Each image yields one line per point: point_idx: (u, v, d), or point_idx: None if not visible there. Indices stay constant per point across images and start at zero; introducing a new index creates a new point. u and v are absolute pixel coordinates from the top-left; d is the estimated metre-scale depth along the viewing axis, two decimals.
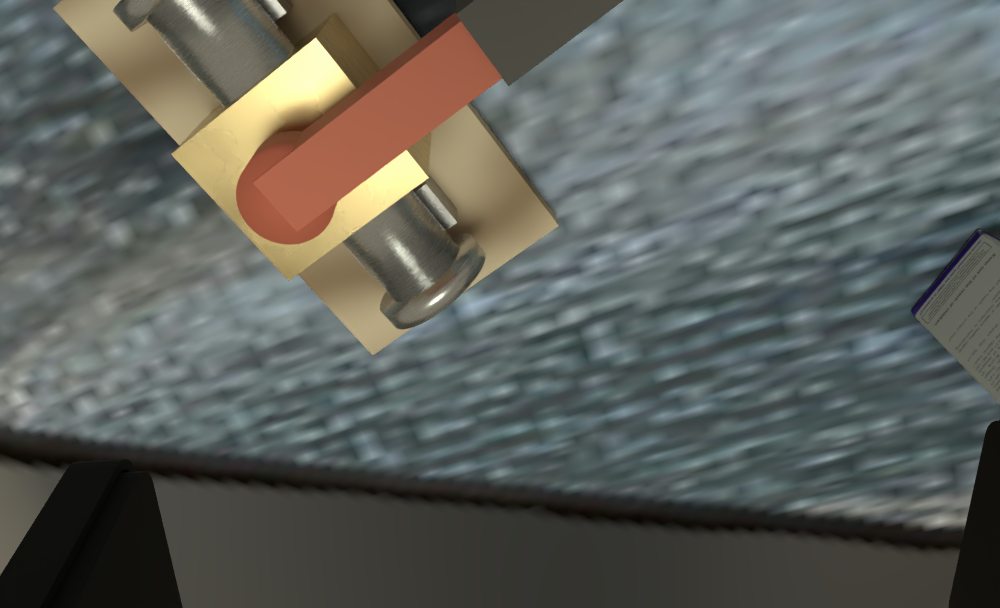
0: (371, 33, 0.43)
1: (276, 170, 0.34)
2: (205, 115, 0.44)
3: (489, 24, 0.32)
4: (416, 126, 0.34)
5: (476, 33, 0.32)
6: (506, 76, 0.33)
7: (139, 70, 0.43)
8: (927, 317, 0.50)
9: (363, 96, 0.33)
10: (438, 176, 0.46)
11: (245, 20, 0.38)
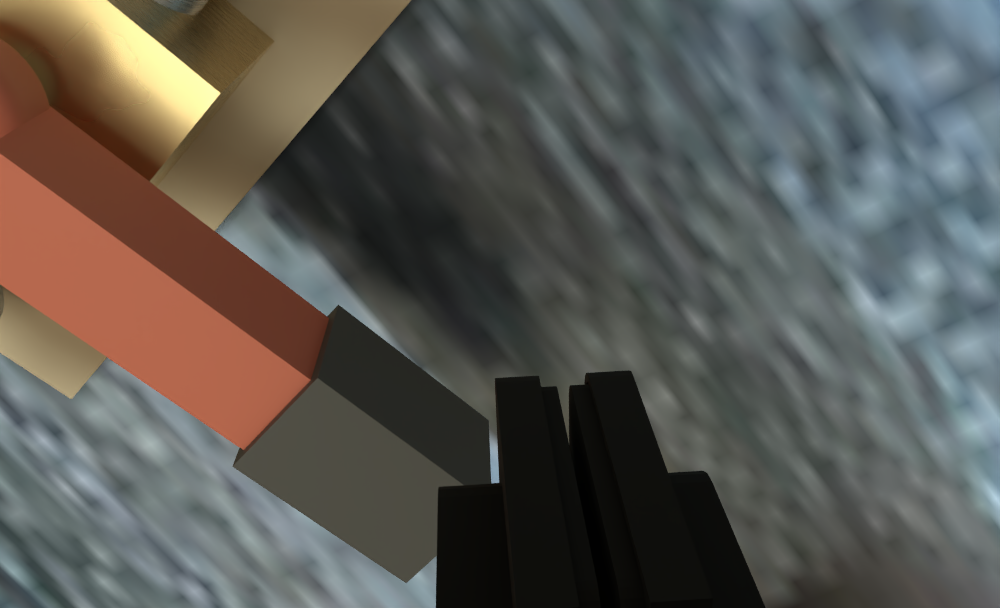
0: (259, 99, 0.29)
1: None
2: None
3: (316, 424, 0.20)
4: (119, 342, 0.20)
5: (298, 410, 0.20)
6: (246, 461, 0.21)
7: None
8: None
9: (140, 252, 0.19)
10: None
11: None
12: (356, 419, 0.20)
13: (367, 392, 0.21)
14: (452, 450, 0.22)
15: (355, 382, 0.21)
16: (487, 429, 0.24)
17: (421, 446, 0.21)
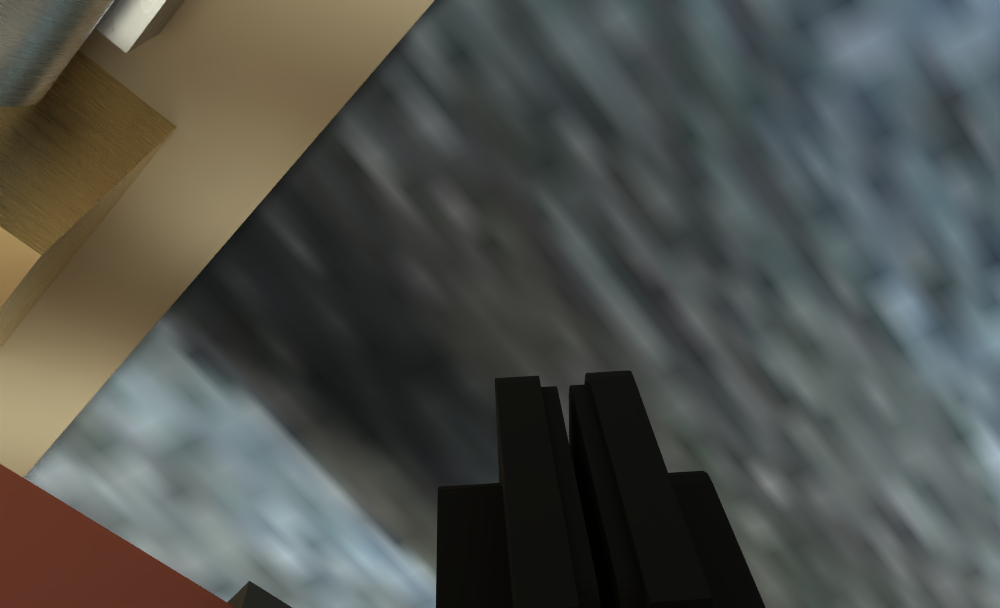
0: (158, 208, 0.20)
1: None
2: None
3: None
4: None
5: None
6: None
7: None
8: None
9: None
10: None
11: None
12: None
13: None
14: None
15: None
16: None
17: None
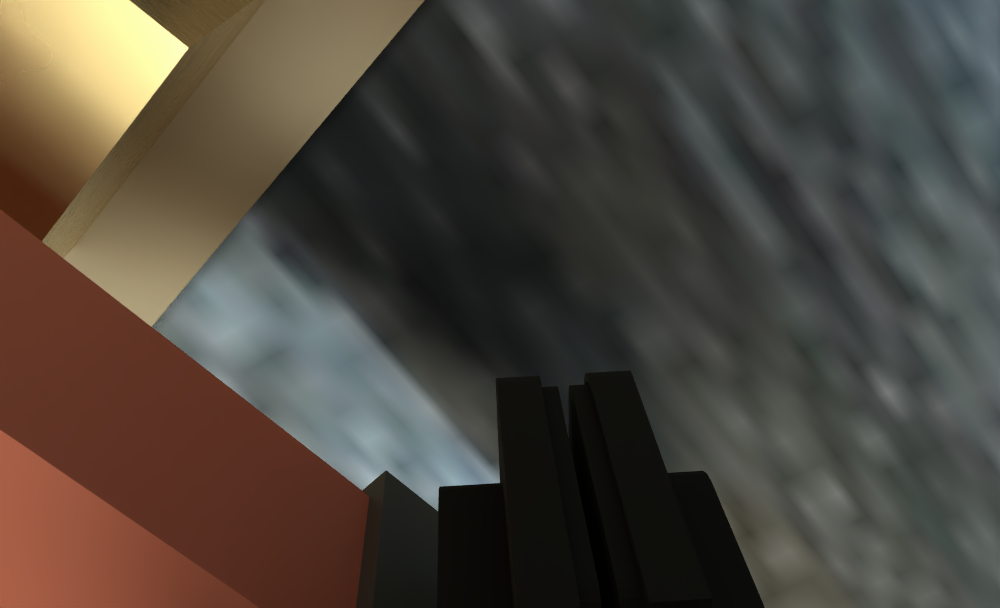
0: (256, 76, 0.18)
1: None
2: None
3: None
4: None
5: None
6: None
7: None
8: None
9: None
10: None
11: None
12: None
13: None
14: None
15: None
16: None
17: None
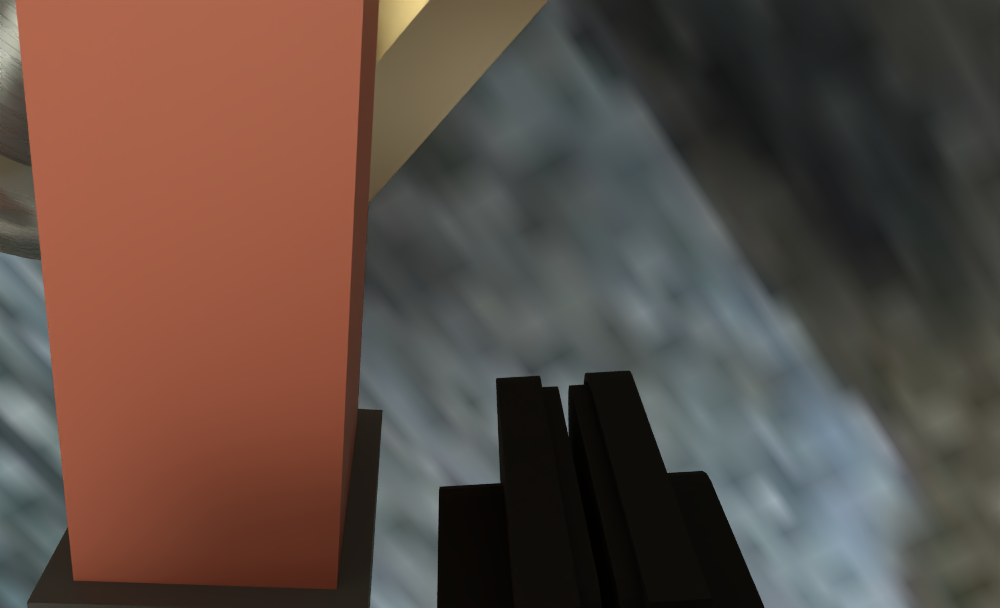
0: None
1: None
2: None
3: None
4: (100, 226, 0.07)
5: None
6: None
7: None
8: None
9: (356, 141, 0.07)
10: None
11: None
12: None
13: None
14: None
15: None
16: None
17: None
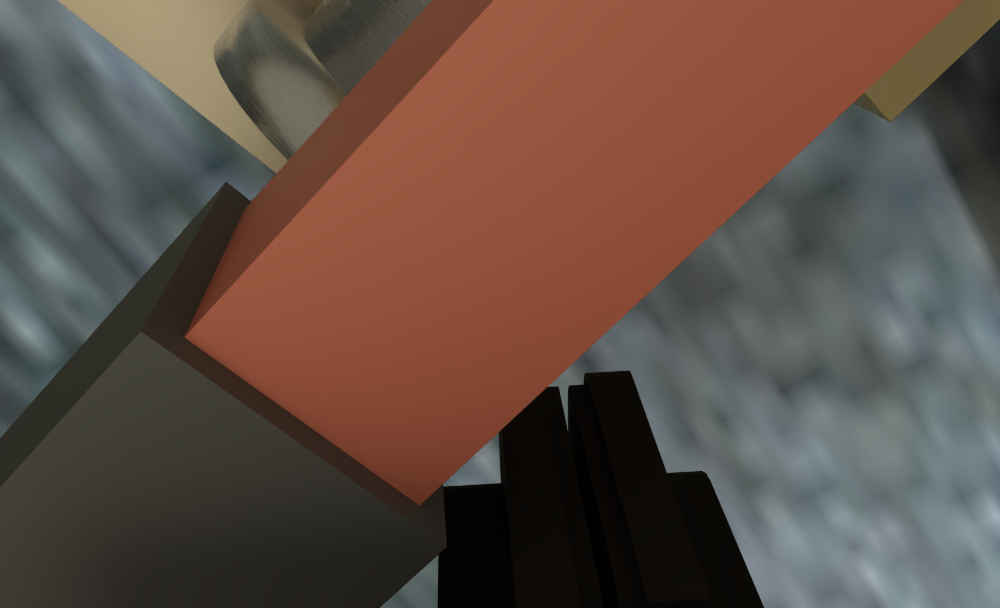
0: None
1: None
2: None
3: (303, 541, 0.08)
4: (553, 35, 0.06)
5: (349, 503, 0.08)
6: (165, 370, 0.07)
7: None
8: None
9: None
10: None
11: None
12: None
13: None
14: None
15: None
16: None
17: None
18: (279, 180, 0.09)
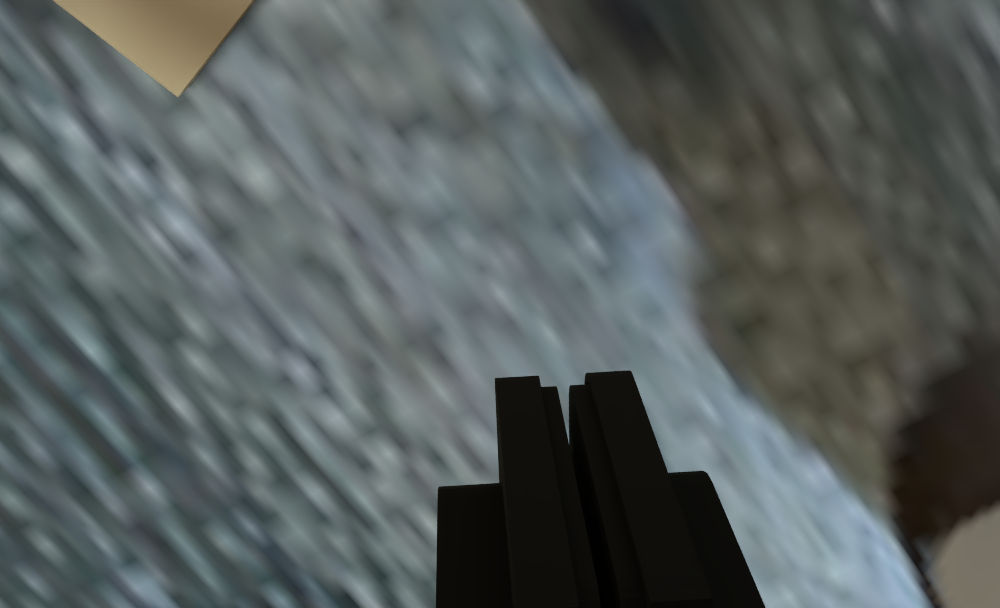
0: None
1: None
2: None
3: None
4: None
5: None
6: None
7: None
8: None
9: None
10: None
11: None
12: None
13: None
14: None
15: None
16: None
17: None
18: None
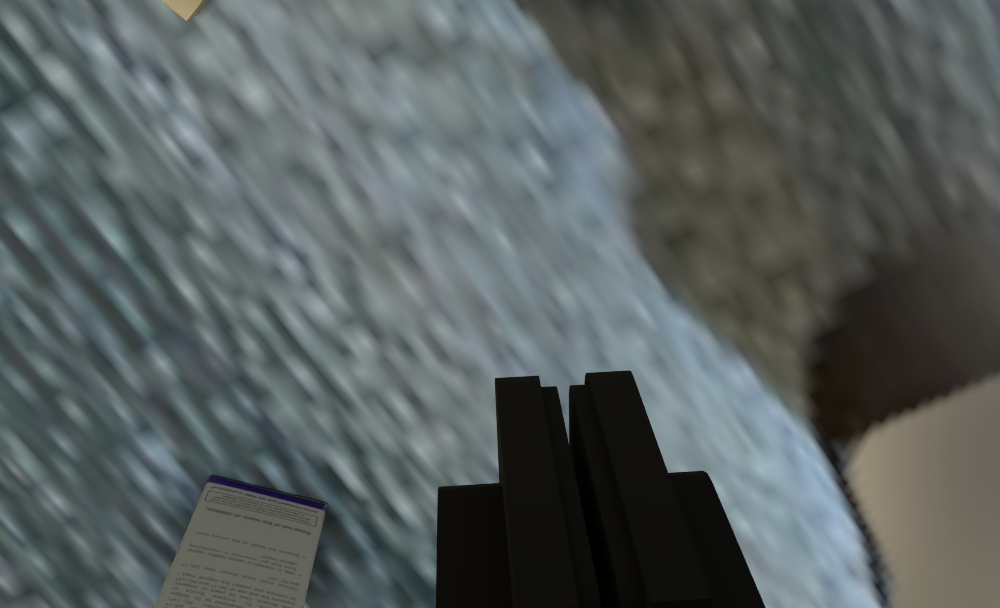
0: None
1: None
2: None
3: None
4: None
5: None
6: None
7: None
8: (212, 497, 0.42)
9: None
10: None
11: None
12: None
13: None
14: None
15: None
16: None
17: None
18: None
